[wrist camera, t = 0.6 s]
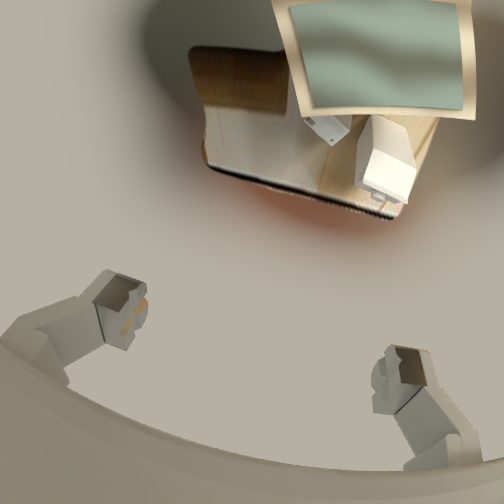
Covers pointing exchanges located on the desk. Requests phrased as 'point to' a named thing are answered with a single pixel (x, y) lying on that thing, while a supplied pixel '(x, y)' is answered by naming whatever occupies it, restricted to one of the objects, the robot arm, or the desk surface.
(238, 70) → the desk surface
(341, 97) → the birch stand
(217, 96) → the desk surface
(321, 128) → the skincare box
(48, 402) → the robot arm
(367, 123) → the milk carton
